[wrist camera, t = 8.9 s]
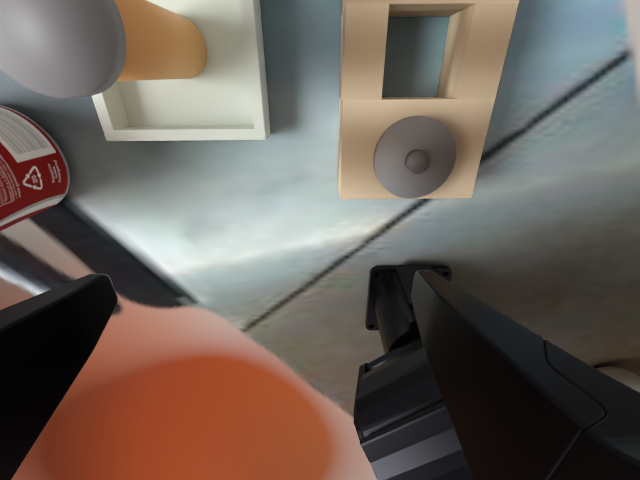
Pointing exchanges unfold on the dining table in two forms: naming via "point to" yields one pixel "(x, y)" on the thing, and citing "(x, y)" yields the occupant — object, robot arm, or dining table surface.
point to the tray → (199, 84)
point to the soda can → (28, 169)
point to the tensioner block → (418, 101)
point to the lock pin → (95, 44)
